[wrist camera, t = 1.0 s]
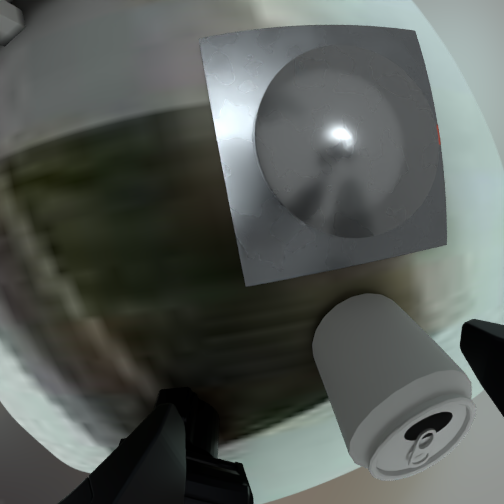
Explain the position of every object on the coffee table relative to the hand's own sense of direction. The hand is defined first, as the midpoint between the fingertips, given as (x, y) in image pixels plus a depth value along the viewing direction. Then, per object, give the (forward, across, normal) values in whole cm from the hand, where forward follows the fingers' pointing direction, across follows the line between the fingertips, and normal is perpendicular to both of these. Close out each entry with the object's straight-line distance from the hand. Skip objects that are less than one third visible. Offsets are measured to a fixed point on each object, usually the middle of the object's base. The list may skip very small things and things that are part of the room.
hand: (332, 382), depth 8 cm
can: (+13, -5, +8) cm, 16 cm away
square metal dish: (+13, -6, -6) cm, 15 cm away
